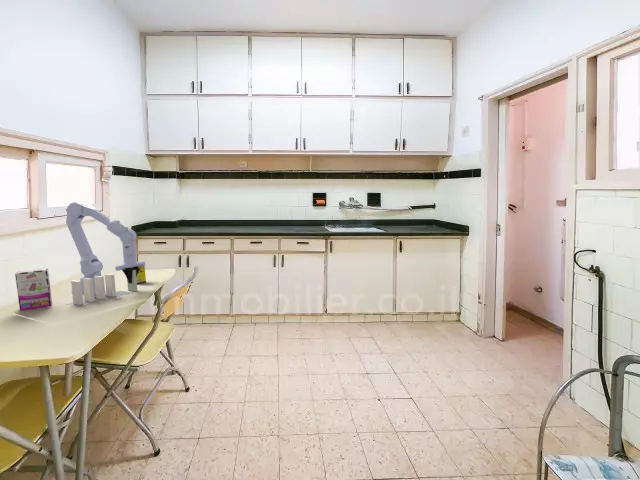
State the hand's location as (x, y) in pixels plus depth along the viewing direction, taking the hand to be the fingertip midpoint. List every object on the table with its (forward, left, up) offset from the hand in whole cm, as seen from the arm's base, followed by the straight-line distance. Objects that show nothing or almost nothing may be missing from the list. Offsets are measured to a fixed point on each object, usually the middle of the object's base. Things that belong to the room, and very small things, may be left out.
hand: (132, 282), depth 202 cm
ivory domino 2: (-4, -21, -4) cm, 21 cm away
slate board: (-3, -16, -4) cm, 16 cm away
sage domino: (0, 0, -4) cm, 4 cm away
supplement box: (-13, +16, -5) cm, 21 cm away
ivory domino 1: (-4, -26, -4) cm, 26 cm away
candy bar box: (-17, -35, -5) cm, 39 cm away
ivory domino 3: (-3, -16, -4) cm, 16 cm away
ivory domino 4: (-2, -11, -4) cm, 12 cm away
